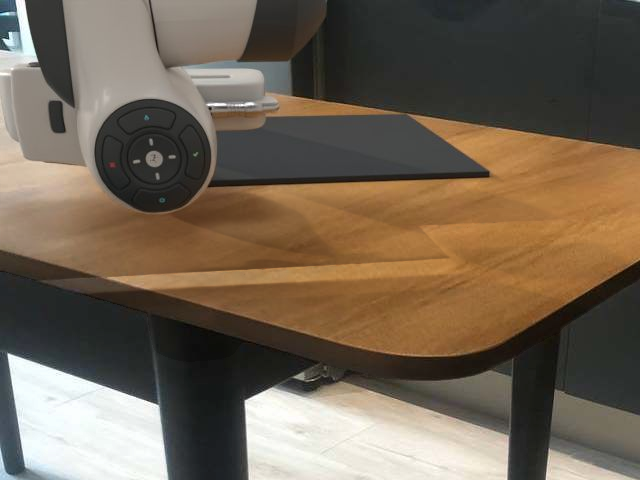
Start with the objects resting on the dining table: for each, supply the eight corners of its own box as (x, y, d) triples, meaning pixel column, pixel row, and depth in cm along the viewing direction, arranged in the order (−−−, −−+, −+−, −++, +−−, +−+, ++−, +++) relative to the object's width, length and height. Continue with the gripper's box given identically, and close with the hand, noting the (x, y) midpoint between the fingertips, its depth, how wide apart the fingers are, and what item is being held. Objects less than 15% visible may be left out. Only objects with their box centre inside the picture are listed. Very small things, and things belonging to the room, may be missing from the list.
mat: (107, 189, 91) (106, 183, 91) (100, 124, 116) (100, 119, 116) (489, 176, 100) (490, 171, 99) (406, 118, 124) (406, 113, 124)
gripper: (282, 65, 79) (255, 42, 91) (-14, 67, 75) (-2, 42, 86) (284, 154, 83) (259, 121, 94) (1, 161, 78) (11, 125, 89)
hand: (132, 83), depth 90 cm, fingers closed
